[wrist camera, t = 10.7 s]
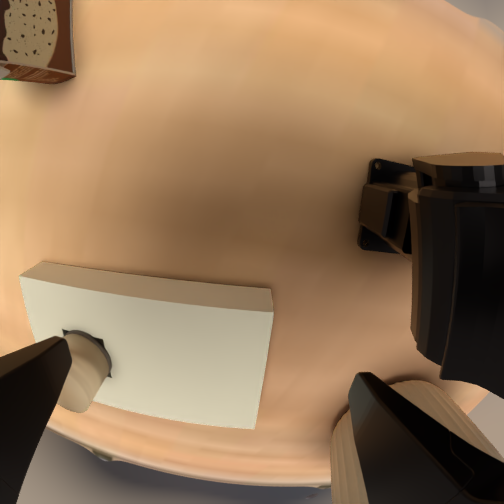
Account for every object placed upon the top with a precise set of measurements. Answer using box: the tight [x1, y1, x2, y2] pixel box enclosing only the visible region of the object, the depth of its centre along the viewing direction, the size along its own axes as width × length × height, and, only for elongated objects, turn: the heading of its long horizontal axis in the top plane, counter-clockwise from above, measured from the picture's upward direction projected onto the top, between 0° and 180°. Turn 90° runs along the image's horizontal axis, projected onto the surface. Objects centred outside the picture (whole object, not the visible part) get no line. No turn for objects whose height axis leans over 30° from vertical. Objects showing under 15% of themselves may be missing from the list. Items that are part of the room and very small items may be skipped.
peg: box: [57, 330, 112, 413], centre depth 18 cm, size 5×5×7 cm
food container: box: [0, 0, 76, 84], centre depth 10 cm, size 12×6×10 cm, turn 14°
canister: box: [330, 380, 504, 504], centre depth 16 cm, size 18×18×21 cm
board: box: [19, 261, 274, 429], centre depth 21 cm, size 20×12×4 cm, turn 85°
